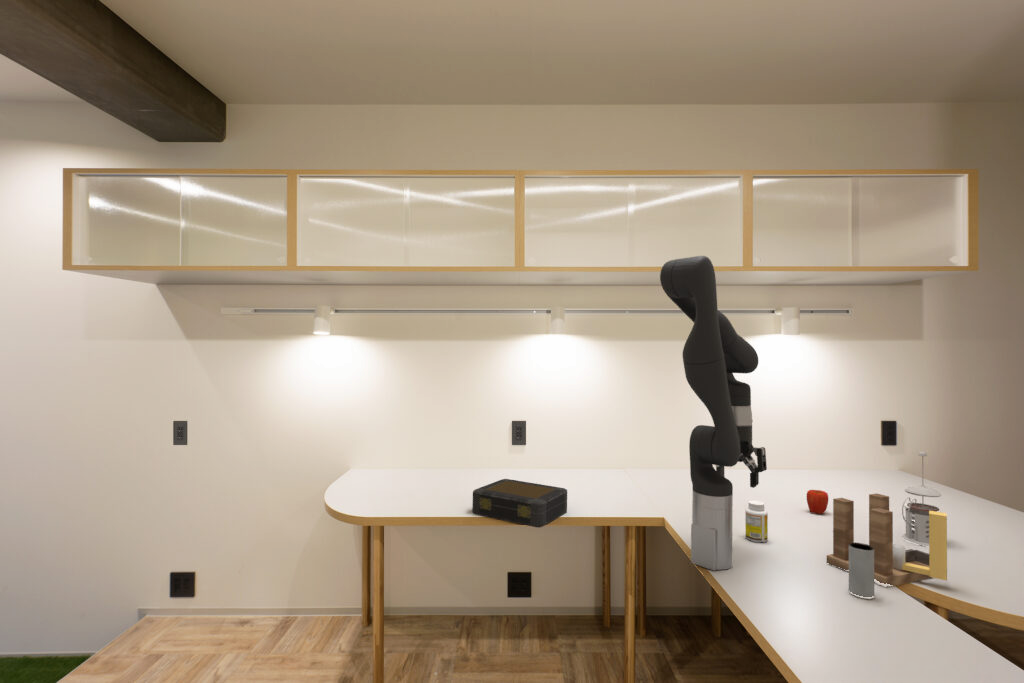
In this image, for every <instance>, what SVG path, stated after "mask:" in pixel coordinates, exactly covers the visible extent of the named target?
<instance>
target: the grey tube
mask: <svg viewBox="0 0 1024 683" xmlns="http://www.w3.org/2000/svg"><path fill="white" fill-rule="evenodd" d="M849 591H850V592H852V593H853V594H856V595H859V596H863V597H872V596H874V597H875V583H874V548H873V547H872V546H870V545H869V544H867V543H863V542H855V541H854V542H853V543H849V572H848V592H849Z"/></svg>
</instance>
